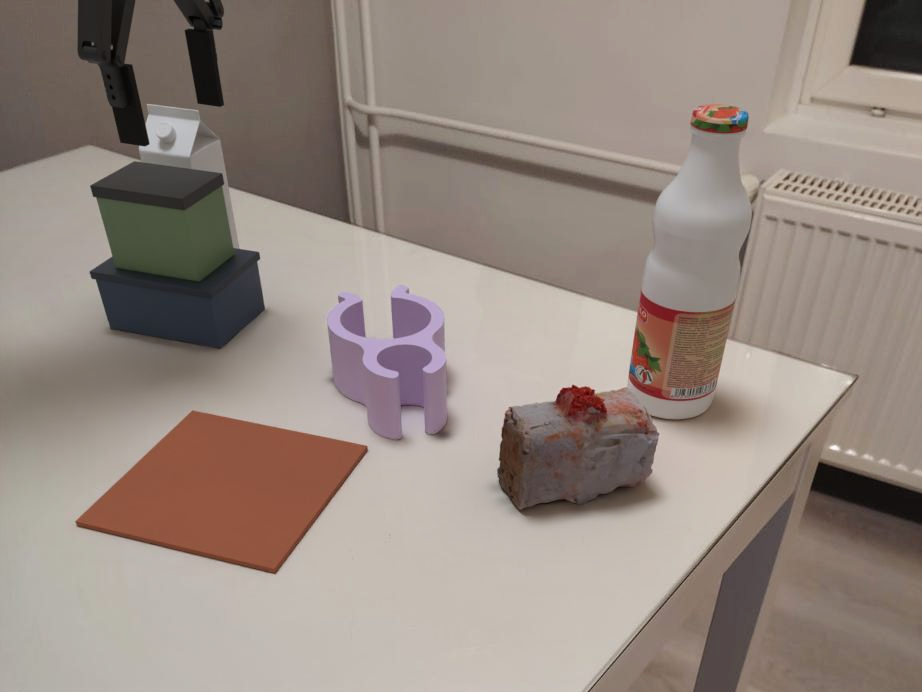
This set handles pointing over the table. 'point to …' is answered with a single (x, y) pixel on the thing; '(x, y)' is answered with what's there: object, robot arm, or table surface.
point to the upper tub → (165, 220)
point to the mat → (226, 490)
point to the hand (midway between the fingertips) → (175, 123)
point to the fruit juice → (692, 271)
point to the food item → (575, 446)
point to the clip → (391, 361)
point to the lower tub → (183, 301)
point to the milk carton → (185, 147)
